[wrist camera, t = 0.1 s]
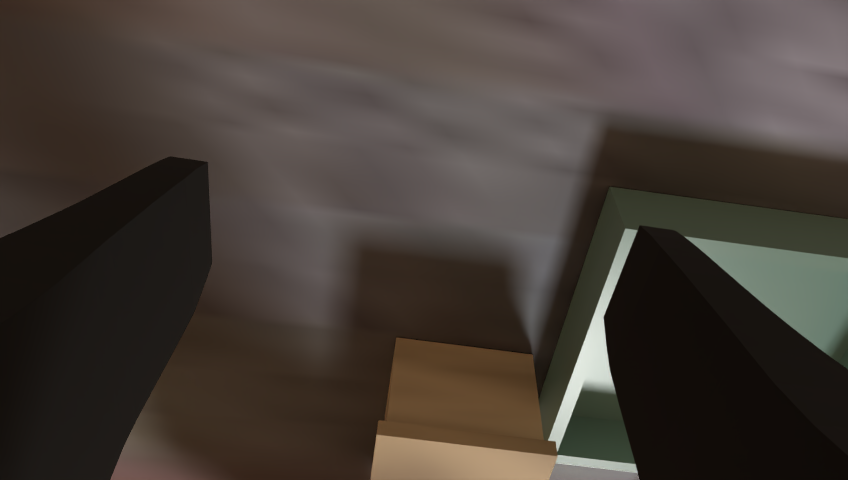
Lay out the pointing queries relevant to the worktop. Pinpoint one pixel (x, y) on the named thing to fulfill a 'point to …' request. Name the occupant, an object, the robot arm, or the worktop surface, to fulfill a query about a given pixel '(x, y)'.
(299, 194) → the worktop surface
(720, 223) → the tray
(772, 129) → the worktop surface
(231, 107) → the worktop surface
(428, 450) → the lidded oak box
